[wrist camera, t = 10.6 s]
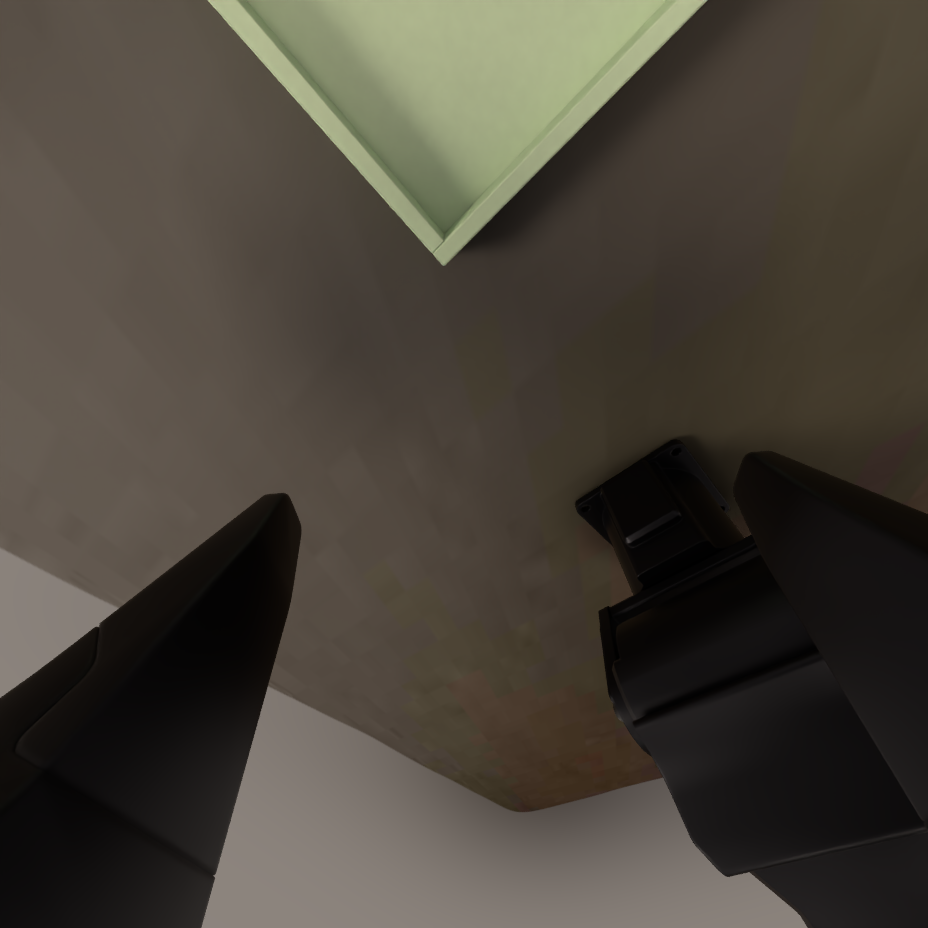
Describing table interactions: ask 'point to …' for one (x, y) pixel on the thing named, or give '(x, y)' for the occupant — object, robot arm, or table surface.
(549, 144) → the tray
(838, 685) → the robot arm
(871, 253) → the table surface
